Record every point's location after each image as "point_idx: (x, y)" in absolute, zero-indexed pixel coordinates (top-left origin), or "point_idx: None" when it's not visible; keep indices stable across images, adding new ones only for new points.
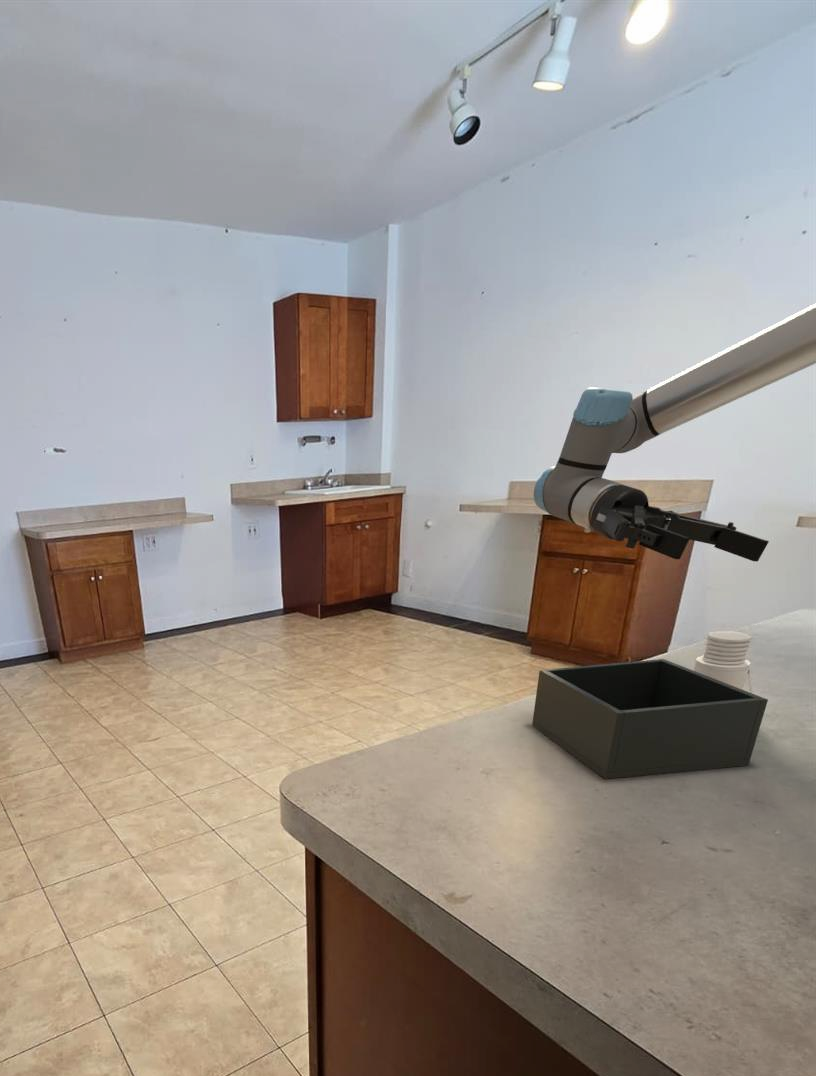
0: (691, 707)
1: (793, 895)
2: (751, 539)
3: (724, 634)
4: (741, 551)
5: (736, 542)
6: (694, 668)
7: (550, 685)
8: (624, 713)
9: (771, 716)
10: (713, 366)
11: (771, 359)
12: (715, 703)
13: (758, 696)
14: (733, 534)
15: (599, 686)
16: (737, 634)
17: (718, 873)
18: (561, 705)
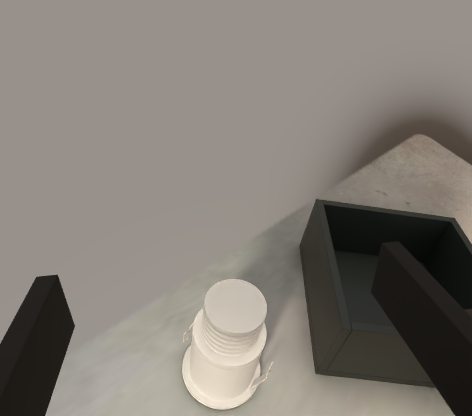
0: (387, 209)
1: (367, 168)
2: (44, 316)
3: (238, 311)
4: (53, 364)
5: (30, 386)
6: (258, 359)
7: None
8: (448, 217)
9: (178, 318)
10: None
11: None
12: (364, 206)
13: (318, 205)
14: (8, 400)
15: None
16: (220, 303)
17: (391, 183)
18: None
